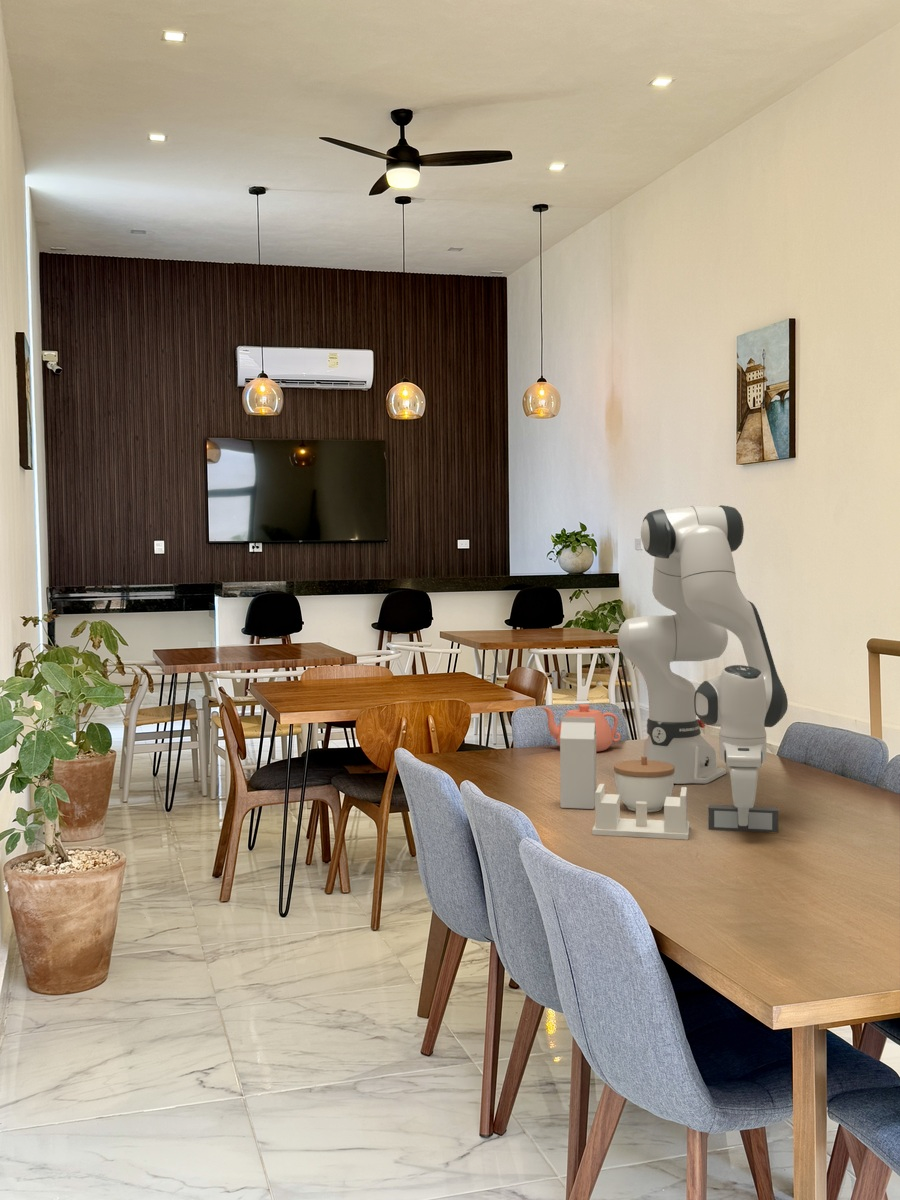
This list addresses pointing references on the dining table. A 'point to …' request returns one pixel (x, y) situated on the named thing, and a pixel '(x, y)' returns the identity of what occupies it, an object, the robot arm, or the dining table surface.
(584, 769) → the milk carton
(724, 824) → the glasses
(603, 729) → the teapot
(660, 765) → the lidded bowl
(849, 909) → the dining table surface
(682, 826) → the stand
